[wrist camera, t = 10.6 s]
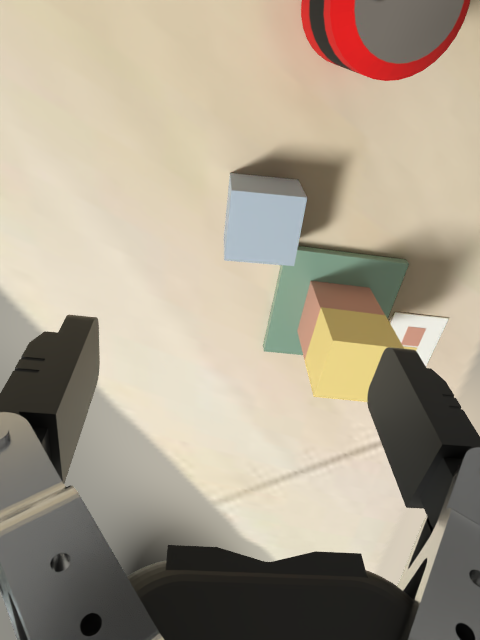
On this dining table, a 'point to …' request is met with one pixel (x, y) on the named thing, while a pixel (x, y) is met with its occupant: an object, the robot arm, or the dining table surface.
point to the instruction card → (418, 332)
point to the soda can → (382, 33)
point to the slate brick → (263, 219)
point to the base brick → (333, 305)
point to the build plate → (328, 268)
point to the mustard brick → (347, 352)
